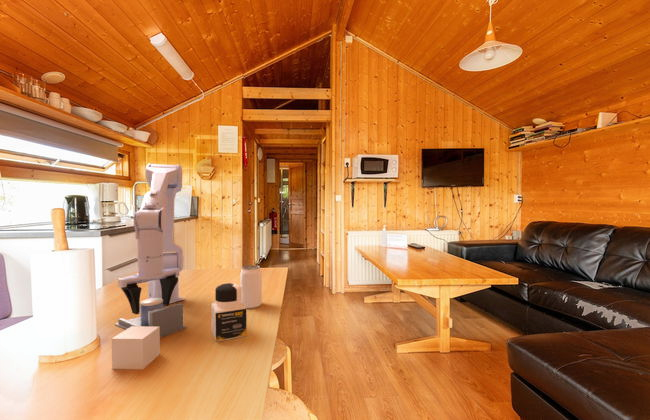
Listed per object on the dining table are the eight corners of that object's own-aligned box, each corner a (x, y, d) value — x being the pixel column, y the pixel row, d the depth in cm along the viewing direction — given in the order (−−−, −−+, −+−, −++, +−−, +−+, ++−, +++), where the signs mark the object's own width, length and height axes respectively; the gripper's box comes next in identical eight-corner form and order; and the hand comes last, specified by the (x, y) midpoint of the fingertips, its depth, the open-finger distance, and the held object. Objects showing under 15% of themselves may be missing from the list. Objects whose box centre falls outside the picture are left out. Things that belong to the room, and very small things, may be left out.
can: (256, 309, 94) (256, 269, 94) (236, 308, 95) (236, 268, 95) (264, 302, 100) (264, 265, 100) (246, 301, 101) (245, 264, 101)
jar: (135, 327, 79) (135, 302, 79) (155, 320, 84) (154, 296, 84) (148, 331, 77) (148, 305, 77) (167, 324, 82) (167, 299, 81)
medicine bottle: (215, 342, 72) (215, 290, 71) (211, 331, 78) (211, 283, 78) (246, 336, 75) (246, 286, 75) (240, 326, 81) (240, 280, 81)
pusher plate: (148, 328, 77) (148, 311, 77) (165, 323, 81) (165, 306, 81) (150, 329, 77) (150, 312, 77) (168, 324, 80) (167, 307, 80)
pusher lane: (115, 324, 82) (114, 300, 82) (150, 314, 89) (149, 292, 89) (150, 340, 73) (150, 313, 72) (186, 327, 80) (186, 303, 80)
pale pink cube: (131, 354, 66) (131, 326, 66) (159, 354, 66) (159, 326, 66) (111, 369, 60) (111, 338, 60) (142, 369, 60) (142, 338, 60)
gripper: (128, 262, 72) (129, 321, 72) (186, 253, 84) (186, 303, 85) (113, 259, 76) (114, 314, 76) (170, 251, 88) (171, 299, 88)
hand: (151, 308), depth 81 cm, fingers open, 7 cm apart
